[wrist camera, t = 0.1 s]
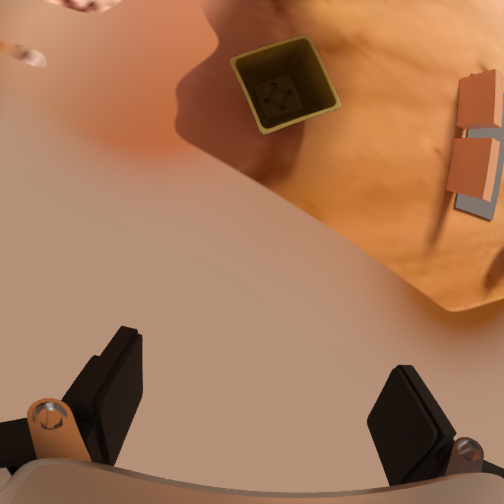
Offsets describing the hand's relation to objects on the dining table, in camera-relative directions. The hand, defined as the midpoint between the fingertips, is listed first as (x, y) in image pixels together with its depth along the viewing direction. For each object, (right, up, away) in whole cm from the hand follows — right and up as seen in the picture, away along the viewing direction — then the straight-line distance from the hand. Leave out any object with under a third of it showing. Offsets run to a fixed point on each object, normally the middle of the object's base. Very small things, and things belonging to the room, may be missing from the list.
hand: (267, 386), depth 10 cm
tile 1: (+29, +17, +27) cm, 44 cm away
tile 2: (+31, +27, +25) cm, 48 cm away
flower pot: (+3, +24, +26) cm, 35 cm away
